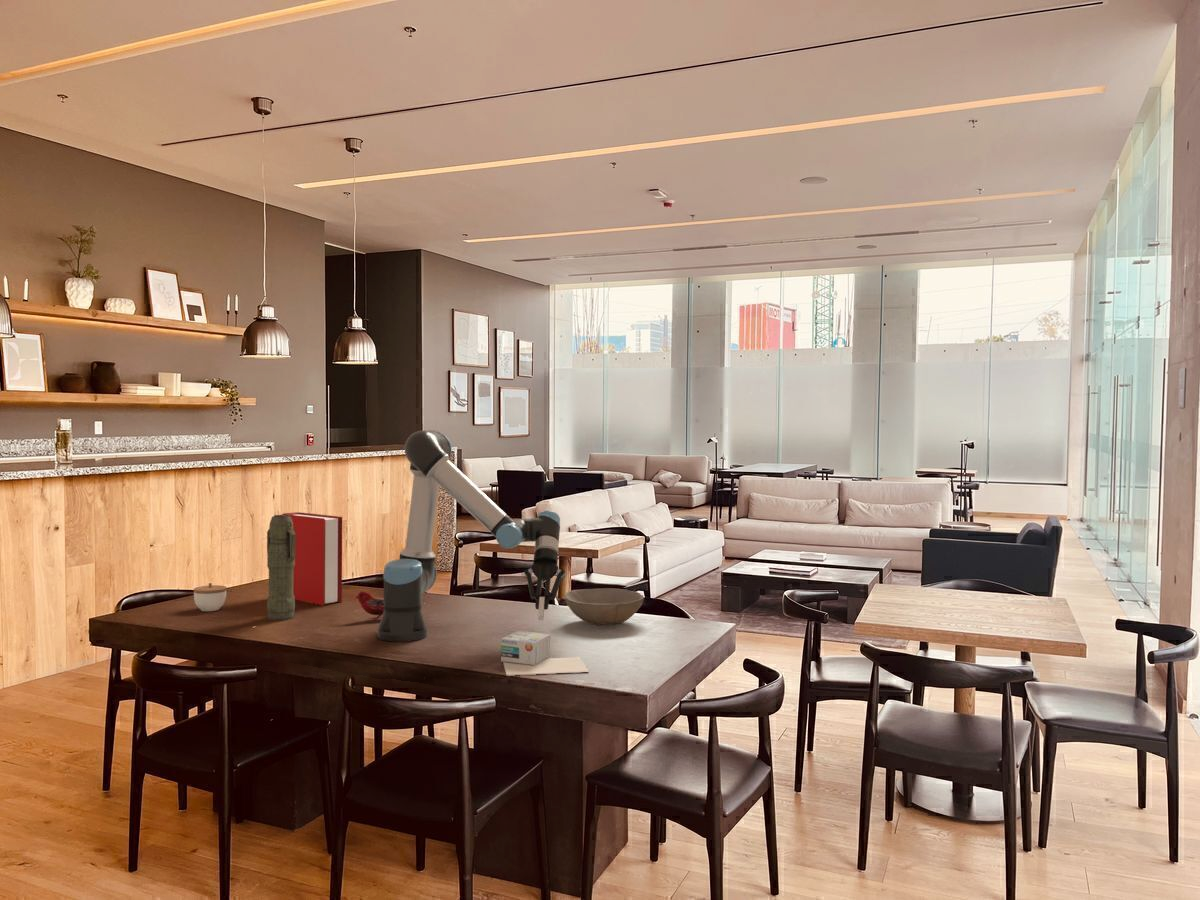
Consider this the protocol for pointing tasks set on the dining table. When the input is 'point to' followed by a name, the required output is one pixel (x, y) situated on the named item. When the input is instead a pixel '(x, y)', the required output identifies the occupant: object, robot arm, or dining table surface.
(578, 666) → the mat
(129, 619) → the dining table surface
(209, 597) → the lidded jar
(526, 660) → the light bulb box
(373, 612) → the decorative bird figurine
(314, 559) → the book
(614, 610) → the bowl
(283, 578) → the stone statue
